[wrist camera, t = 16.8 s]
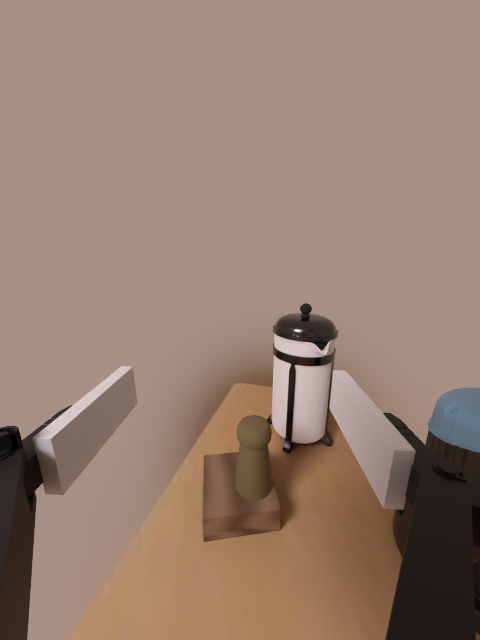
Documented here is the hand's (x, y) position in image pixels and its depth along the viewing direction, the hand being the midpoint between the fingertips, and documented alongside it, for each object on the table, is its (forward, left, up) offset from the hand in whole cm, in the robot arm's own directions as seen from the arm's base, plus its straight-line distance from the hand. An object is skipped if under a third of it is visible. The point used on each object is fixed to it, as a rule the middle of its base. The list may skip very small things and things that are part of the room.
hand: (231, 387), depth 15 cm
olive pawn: (-5, -16, -26) cm, 31 cm away
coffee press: (-17, -32, -30) cm, 47 cm away
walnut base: (-2, -17, -30) cm, 34 cm away
